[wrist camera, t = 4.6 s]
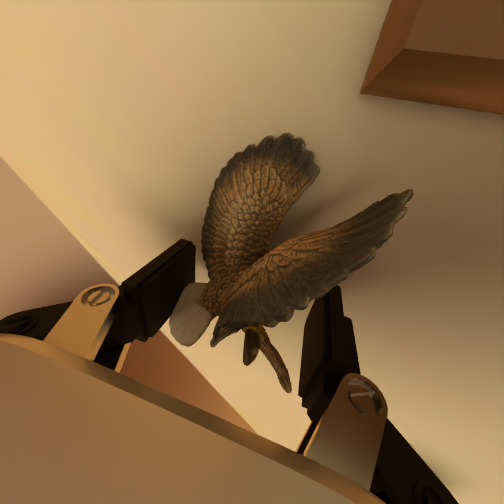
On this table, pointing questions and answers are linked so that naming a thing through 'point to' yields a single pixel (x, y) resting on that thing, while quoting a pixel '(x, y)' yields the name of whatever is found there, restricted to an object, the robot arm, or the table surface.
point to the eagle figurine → (279, 259)
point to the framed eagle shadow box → (441, 54)
